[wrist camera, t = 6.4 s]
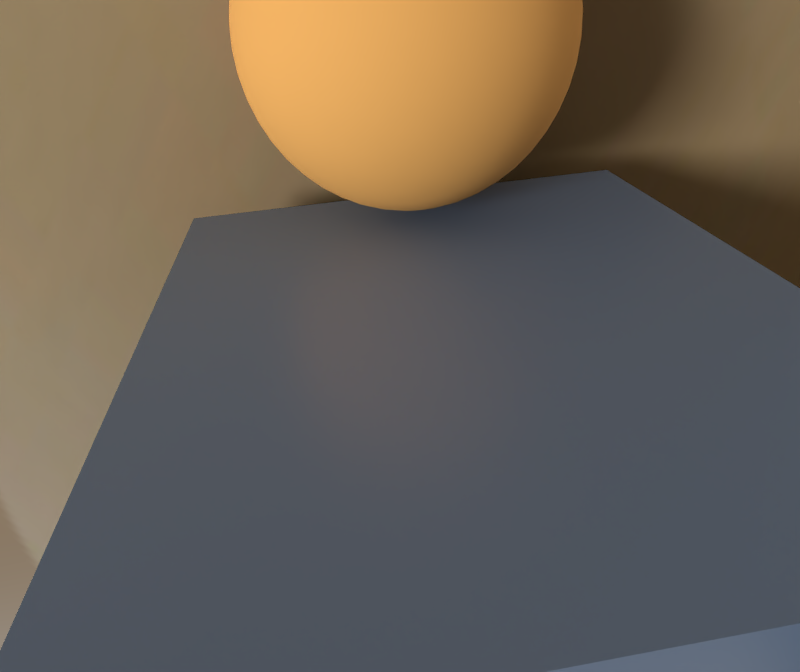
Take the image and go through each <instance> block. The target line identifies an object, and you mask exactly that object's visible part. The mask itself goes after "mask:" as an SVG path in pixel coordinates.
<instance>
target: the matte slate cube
mask: <svg viewBox="0 0 800 672" xmlns="http://www.w3.org/2000/svg"><path fill="white" fill-rule="evenodd" d="M0 672H800V288H798V287H797V286H795V285H793V284H792V283H790V282H789V281H787V280H785V279H784V278H782V277H780V276H779V275H777V274H776V273H774V272H772V271H771V270H769V269H767V268H766V267H764V266H763V265H761V264H759V263H758V262H756V261H754V260H753V259H751V258H750V257H748V256H746V255H745V254H743V253H741V252H740V251H738V250H736V249H735V248H733V247H732V246H730V245H728V244H727V243H725V242H723V241H722V240H720V239H719V238H717V237H715V236H714V235H712V234H710V233H709V232H707V231H706V230H704V229H702V228H701V227H699V226H697V225H696V224H694V223H693V222H691V221H689V220H688V219H686V218H684V217H683V216H681V215H679V214H678V213H676V212H675V211H673V210H671V209H670V208H668V207H666V206H665V205H663V204H662V203H660V202H658V201H657V200H655V199H653V198H652V197H650V196H649V195H647V194H645V193H644V192H642V191H640V190H639V189H637V188H636V187H634V186H632V185H631V184H629V183H627V182H626V181H624V180H622V179H621V178H619V177H618V176H616V175H614V174H613V173H611V172H609V171H608V170H601V171H593V172H584V173H576V174H568V175H559V176H551V177H542V178H534V179H525V180H517V181H508V182H500V183H494V184H493V185H491V186H489V187H488V188H486V189H484V190H483V191H481V192H479V193H477V194H475V195H473V196H470V197H468V198H466V199H463V200H461V201H459V202H456V203H452V204H448V205H445V206H441V207H437V208H432V209H426V210H416V211H400V210H385V209H379V208H374V207H370V206H365V205H361V204H358V203H355V202H353V201H350V200H347V201H339V202H330V203H322V204H313V205H305V206H296V207H288V208H279V209H271V210H262V211H254V212H245V213H237V214H228V215H220V216H211V217H203V218H194V220H193V222H192V224H191V226H190V229H189V231H188V233H187V235H186V237H185V240H184V242H183V244H182V246H181V249H180V251H179V253H178V255H177V258H176V260H175V262H174V264H173V266H172V269H171V271H170V273H169V275H168V278H167V280H166V282H165V284H164V286H163V289H162V291H161V293H160V295H159V298H158V300H157V302H156V304H155V307H154V309H153V311H152V313H151V315H150V318H149V320H148V322H147V324H146V327H145V329H144V331H143V333H142V336H141V338H140V340H139V342H138V344H137V347H136V349H135V351H134V353H133V356H132V358H131V360H130V362H129V365H128V367H127V369H126V371H125V373H124V376H123V378H122V380H121V382H120V385H119V387H118V389H117V391H116V394H115V396H114V398H113V400H112V402H111V405H110V407H109V409H108V411H107V414H106V416H105V418H104V420H103V423H102V425H101V427H100V429H99V431H98V434H97V436H96V438H95V440H94V443H93V445H92V447H91V449H90V451H89V454H88V456H87V458H86V460H85V463H84V465H83V467H82V469H81V472H80V474H79V476H78V478H77V480H76V483H75V485H74V487H73V489H72V492H71V494H70V496H69V498H68V501H67V503H66V505H65V507H64V509H63V512H62V514H61V516H60V518H59V521H58V523H57V525H56V527H55V530H54V532H53V534H52V536H51V538H50V541H49V543H48V545H47V547H46V550H45V552H44V554H43V556H42V559H41V561H40V563H39V565H38V567H37V570H36V572H35V574H34V576H33V579H32V581H31V583H30V585H29V588H28V590H27V592H26V594H25V596H24V599H23V601H22V603H21V606H20V608H19V610H18V612H17V614H16V617H15V619H14V621H13V624H12V626H11V628H10V630H9V632H8V634H7V637H6V639H5V641H4V643H3V646H2V648H1V650H0Z"/></svg>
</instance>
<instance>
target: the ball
mask: <svg viewBox="0 0 800 672" xmlns="http://www.w3.org/2000/svg"><path fill="white" fill-rule="evenodd" d="M582 19H583V1H582V0H229V27H230V36H231V45H232V52H233V56H234V60H235V64H236V69H237V73H238V76H239V79H240V82H241V85H242V87H243V90H244V93H245V96H246V98H247V100H248V102H249V104H250V106H251V108H252V110H253V112H254V114H255V116H256V118H257V120H258V122H259V123H260V125H261V126H262V128H263V129H264V131H265V132H266V134H267V135H268V137H269V138H270V140H271V141H272V143H273V144H274V145H275V146H276V147H277V148H278V150H279V151H280V152H281V153H282V154H283V155H284V156H285V158H286V159H287V160H288V161H289V162H290V163H292V164H293V165H294V166H295V167H296V168H297V169H298V170H299V171H300V172H301V173H303V174H304V175H305V176H306V177H308V178H309V179H311V180H312V181H314V182H315V183H316V184H318V185H319V186H321V187H322V188H324V189H326V190H328V191H330V192H332V193H334V194H336V195H338V196H340V197H342V198H344V199H347V200H350V201H353V202H355V203H358V204H361V205H365V206H370V207H374V208H379V209H385V210H400V211H416V210H426V209H432V208H437V207H441V206H445V205H448V204H452V203H456V202H459V201H461V200H463V199H466V198H468V197H470V196H473V195H475V194H477V193H479V192H481V191H483V190H484V189H486V188H488V187H489V186H491V185H493V184H494V183H496V182H498V181H499V180H500V179H501V178H503V177H504V176H505V175H507V174H508V173H509V172H510V171H512V170H513V169H514V168H515V167H516V166H517V165H518V164H519V163H520V162H521V161H522V160H523V159H524V158H525V157H526V156H527V155H528V154H529V153H530V152H531V151H532V150H533V149H534V147H535V146H536V145H537V143H538V142H539V141H540V140H541V138H542V137H543V136H544V134H545V133H546V132H547V130H548V128H549V127H550V125H551V123H552V122H553V120H554V118H555V117H556V115H557V113H558V111H559V109H560V107H561V105H562V103H563V100H564V98H565V96H566V94H567V91H568V89H569V86H570V83H571V80H572V77H573V73H574V70H575V67H576V64H577V59H578V53H579V48H580V42H581V36H582Z"/></svg>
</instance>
